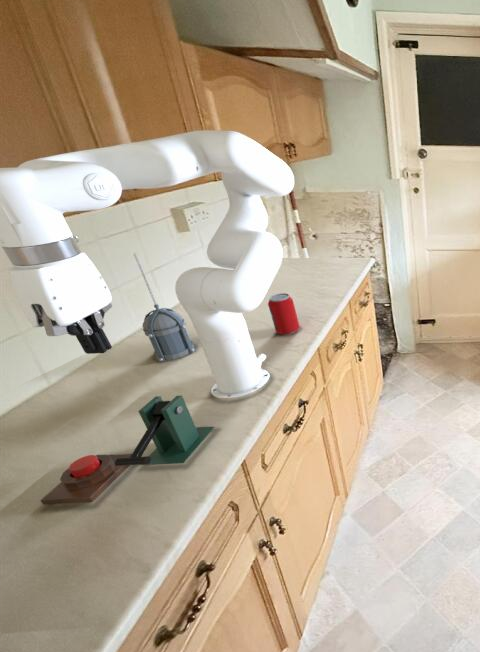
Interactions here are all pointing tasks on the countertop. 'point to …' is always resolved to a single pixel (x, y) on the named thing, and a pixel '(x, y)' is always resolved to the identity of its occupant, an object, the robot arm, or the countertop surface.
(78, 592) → the countertop surface
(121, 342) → the countertop surface
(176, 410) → the switch bracket
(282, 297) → the beverage can
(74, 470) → the red button
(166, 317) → the lantern
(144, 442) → the switch lever
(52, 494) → the control block
